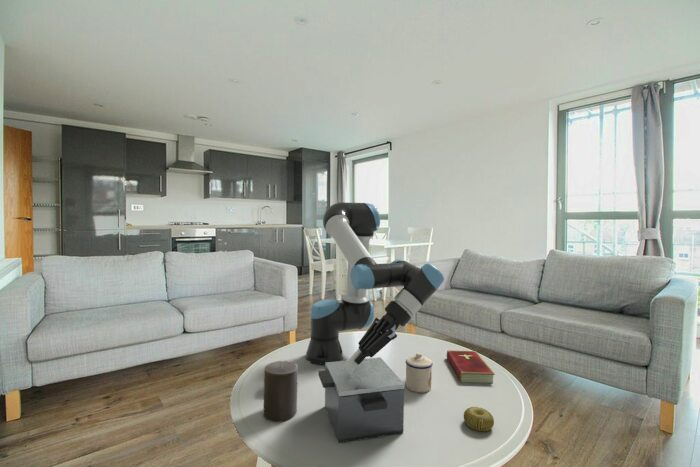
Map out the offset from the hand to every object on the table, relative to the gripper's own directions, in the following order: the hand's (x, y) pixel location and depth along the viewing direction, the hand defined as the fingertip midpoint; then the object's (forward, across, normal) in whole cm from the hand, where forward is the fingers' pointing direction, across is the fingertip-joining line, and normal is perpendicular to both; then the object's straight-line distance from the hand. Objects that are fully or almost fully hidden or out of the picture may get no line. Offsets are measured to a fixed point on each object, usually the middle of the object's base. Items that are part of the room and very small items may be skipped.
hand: (346, 369), depth 96 cm
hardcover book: (-27, +21, -49) cm, 60 cm away
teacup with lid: (-10, +15, -32) cm, 37 cm away
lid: (0, 0, -4) cm, 4 cm away
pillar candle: (+23, +9, +2) cm, 25 cm away
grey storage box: (+7, 0, -14) cm, 15 cm away
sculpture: (-14, -11, -36) cm, 40 cm away
